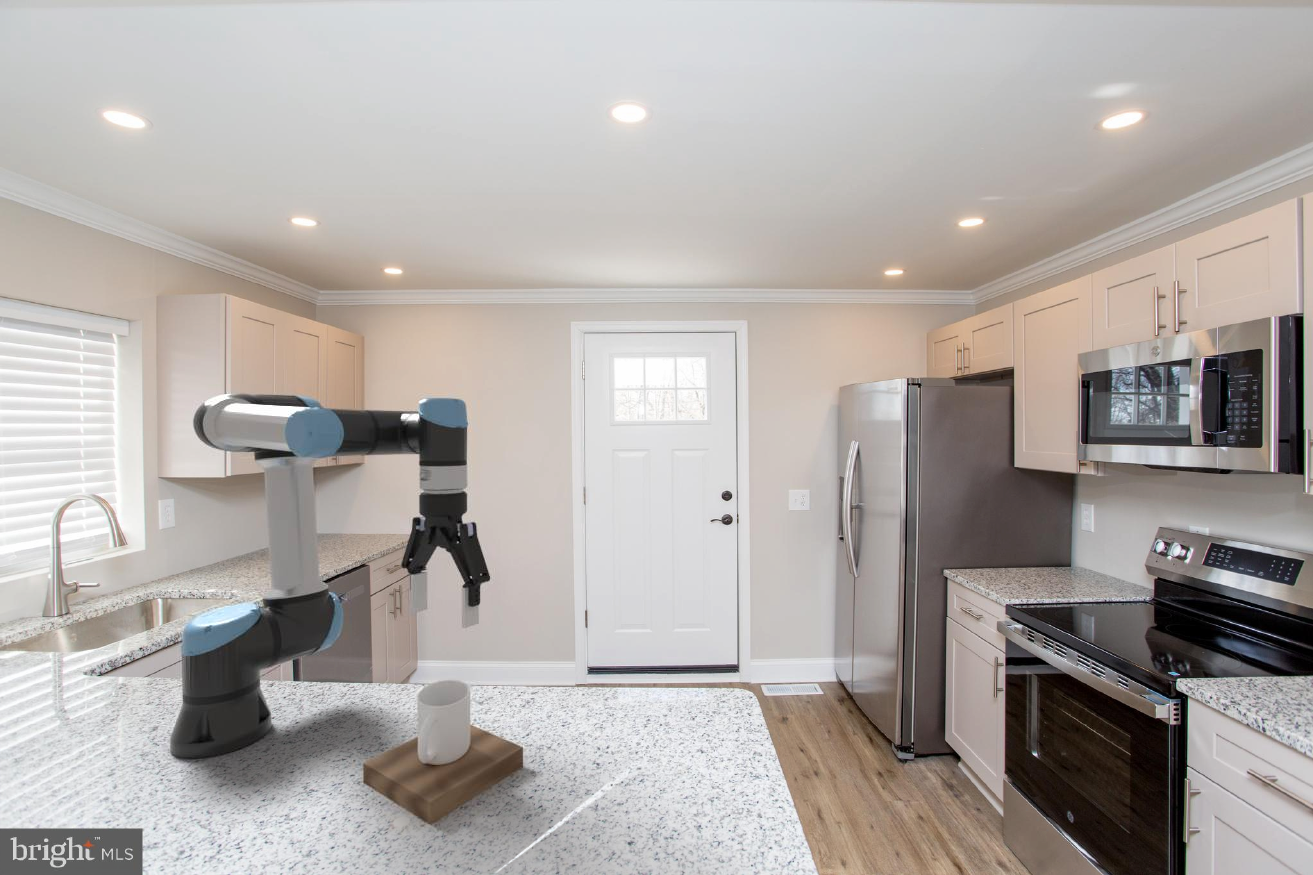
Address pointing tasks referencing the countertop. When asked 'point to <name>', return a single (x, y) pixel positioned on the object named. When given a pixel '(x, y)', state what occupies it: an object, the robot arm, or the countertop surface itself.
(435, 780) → the walnut block
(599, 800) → the countertop surface
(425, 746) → the mug
